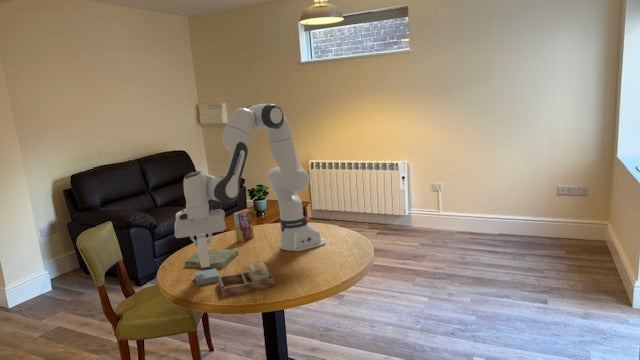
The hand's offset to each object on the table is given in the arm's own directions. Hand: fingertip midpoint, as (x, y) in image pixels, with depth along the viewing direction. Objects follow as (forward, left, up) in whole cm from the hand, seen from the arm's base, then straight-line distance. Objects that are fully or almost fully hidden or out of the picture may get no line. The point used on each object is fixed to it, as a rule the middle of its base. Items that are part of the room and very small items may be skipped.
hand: (202, 244), depth 186 cm
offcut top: (-20, +14, -11) cm, 26 cm away
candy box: (-24, -47, -16) cm, 55 cm away
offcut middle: (-20, +14, -13) cm, 28 cm away
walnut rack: (-14, +14, -15) cm, 25 cm away
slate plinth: (0, 0, -15) cm, 15 cm away
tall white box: (0, 0, -8) cm, 8 cm away
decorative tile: (-4, -22, -16) cm, 28 cm away
